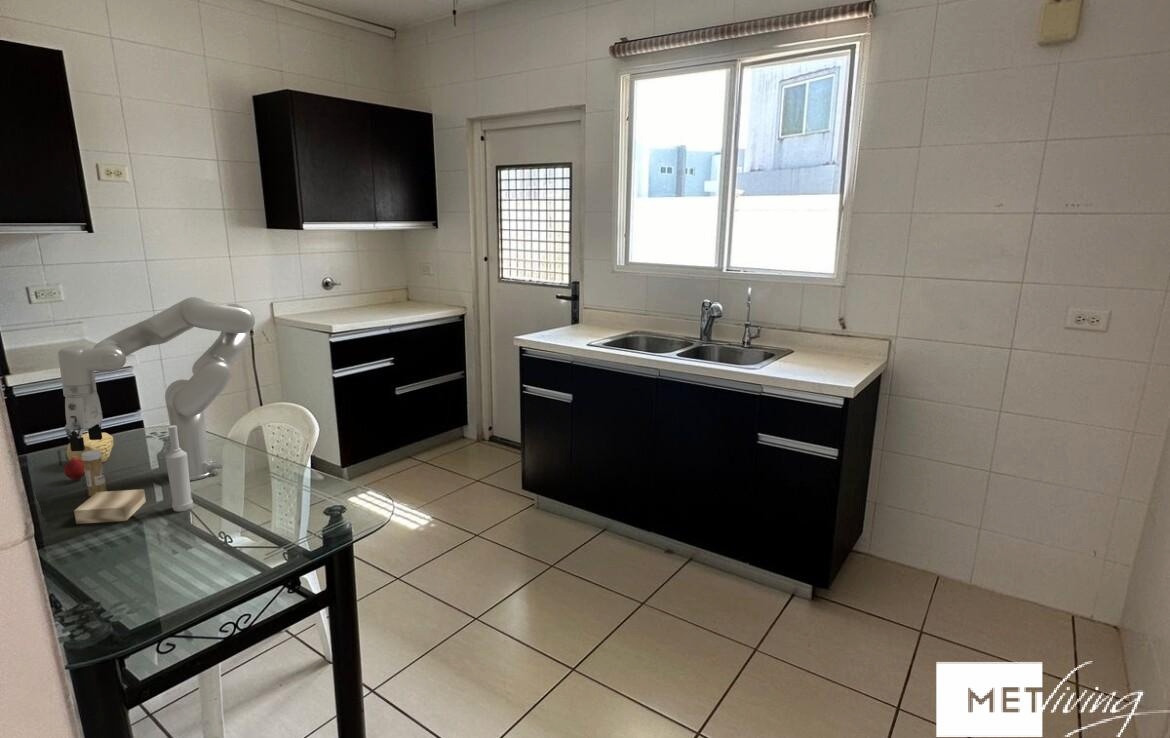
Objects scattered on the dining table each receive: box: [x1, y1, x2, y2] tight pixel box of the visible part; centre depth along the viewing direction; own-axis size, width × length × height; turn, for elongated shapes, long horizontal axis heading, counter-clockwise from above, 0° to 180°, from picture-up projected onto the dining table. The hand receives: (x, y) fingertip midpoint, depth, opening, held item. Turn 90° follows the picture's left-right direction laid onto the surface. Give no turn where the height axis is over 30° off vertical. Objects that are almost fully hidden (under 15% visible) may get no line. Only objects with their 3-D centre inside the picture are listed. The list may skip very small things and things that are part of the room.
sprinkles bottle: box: [82, 450, 108, 497], centre depth 186 cm, size 5×5×13 cm
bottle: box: [164, 425, 194, 513], centre depth 177 cm, size 5×5×25 cm
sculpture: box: [66, 432, 114, 464], centre depth 208 cm, size 11×12×11 cm
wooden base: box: [73, 488, 147, 525], centre depth 176 cm, size 12×12×4 cm
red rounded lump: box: [63, 456, 85, 481], centre depth 195 cm, size 6×6×8 cm
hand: (87, 445), depth 183 cm, fingers open, 9 cm apart
